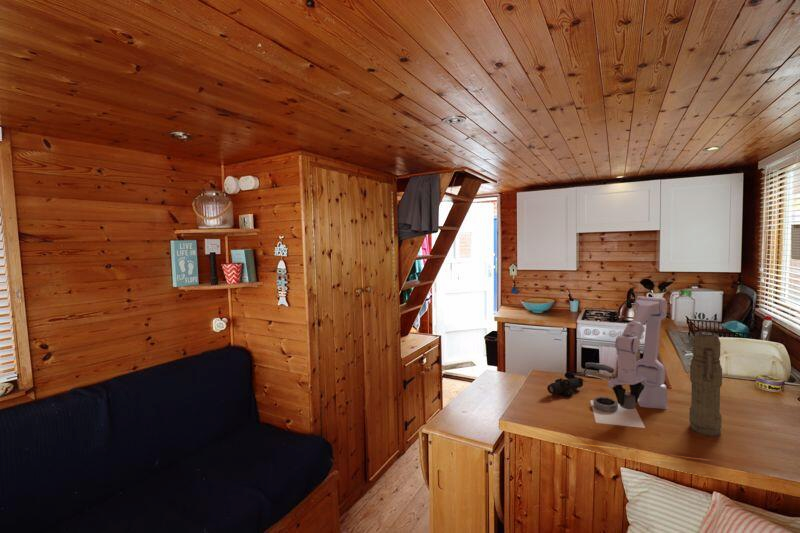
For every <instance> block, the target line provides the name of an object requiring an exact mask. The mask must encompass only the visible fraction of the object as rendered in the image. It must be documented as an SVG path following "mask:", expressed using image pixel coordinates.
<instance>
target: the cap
mask: <svg viewBox="0 0 800 533" xmlns="http://www.w3.org/2000/svg"><path fill="white" fill-rule="evenodd" d="M620 406H621V407H622V408H625V409H634V408H636V404H635V394H633V393H631V391H630V392H629V391H625V395H624V405H620Z"/></svg>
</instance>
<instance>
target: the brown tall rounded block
mask: <svg viewBox="0 0 800 533" xmlns="http://www.w3.org/2000/svg"><path fill="white" fill-rule="evenodd" d="M720 358H721V340H720V338H719V335H718V334H716V333H714V332H711V331H705V330H704V331H697V332H695V334H694V336H693V339H692V359H691V360H692V361H691V363H690V365H689V381H690V382H691V406H690V407H689V413H688V414H689V417H688V418H689V427H690V429H691V430H692V431H693V432H694V433H696V434H698V435H701V436H704V437H710V438H711V437H713V438H715V437H720V436H721V435H722V430H721V428H722V425H723V424H722V423H723V422H722V418H723V417H722V414H721V409H720V408H721V387H722V385H723V367H722V365H721V360H720Z"/></svg>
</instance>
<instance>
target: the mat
mask: <svg viewBox="0 0 800 533" xmlns="http://www.w3.org/2000/svg"><path fill="white" fill-rule="evenodd" d="M589 401H590V405H591V409H592V412H593V417H594V420H595V423H596V424H603V425H611V426H623V427H629V428H630V427H631V428H642V429H646V426H645V424H644V422H643V421H642V418H641V416H640V414H639V412H638V410H637V408H636V407H635V408H634V409H625V408H622V407H621V406H620V404H618V409H617V411H616V412H611V413H609V412H602V411H599V410H597V409H595V408H594V404H593V399H591V400H589Z"/></svg>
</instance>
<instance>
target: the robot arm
mask: <svg viewBox="0 0 800 533" xmlns="http://www.w3.org/2000/svg"><path fill="white" fill-rule="evenodd" d="M634 307H635V314H634V317H633V319H632V321H629V322H627V325H626V326H625V328H624V330H623V332H622V334H621V335H618V336H617V337H616V339H615V342H614V343H615V344H614V346H615V350H616V356H617V358H618V360H617V361H618V363H617V366H618V370H617V371H618V373H617V374H618V375H617V377H616V378H613V379H610V380H607V386H608V387H609V388H612V391H613V392H614V394H615V397H616V401H617V403H618V404H620V405H624V395H625V392H627V389H625V388H624V387H623V386H629V390H630V393H633V394H635V405H636V404H638V405H639V407H640V408H648V409H649V408H651V409H661V410H668V409H669V408H668V388H667V385H666V384H664V383H665V382H666V367H665V365H663V364H662V362H660V360H659V359H658V355H659V347H660V346H659V345H660V344H659V343H660V335H661V334H660V332H661V322H662V321H663V320H666V317H667V313H668V302H667V299H666V298H665V297H654V296H653V297H651V296H642V295H638V296H637V297H636V298H635V301H634ZM644 325H645V327H644ZM644 331H645V336H644V346H643V356H642V358H640V359H639V360H637V353H638V351H639V349H640V344H641V340H640V339H641V338H642V336H643V333H644Z"/></svg>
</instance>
